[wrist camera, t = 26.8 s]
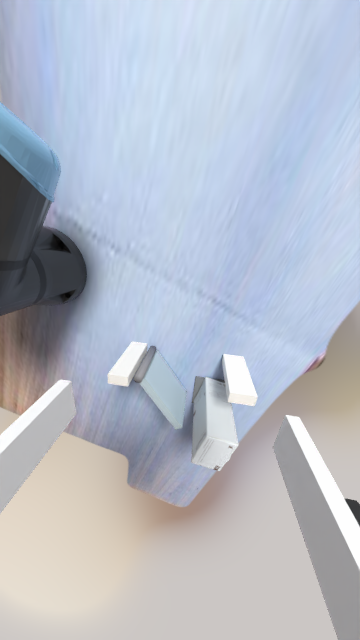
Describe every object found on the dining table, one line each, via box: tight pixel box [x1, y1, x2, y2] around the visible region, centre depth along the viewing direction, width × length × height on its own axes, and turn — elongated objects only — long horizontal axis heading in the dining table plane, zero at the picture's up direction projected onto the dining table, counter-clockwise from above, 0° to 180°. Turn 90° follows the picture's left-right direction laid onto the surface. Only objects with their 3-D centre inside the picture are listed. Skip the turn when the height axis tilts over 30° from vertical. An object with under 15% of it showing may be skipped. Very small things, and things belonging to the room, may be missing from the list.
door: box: [134, 346, 187, 430], centre depth 41 cm, size 15×3×11 cm, turn 31°
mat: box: [192, 376, 225, 403], centre depth 46 cm, size 8×8×1 cm
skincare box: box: [191, 377, 239, 471], centre depth 39 cm, size 8×6×15 cm
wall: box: [108, 342, 257, 406], centre depth 38 cm, size 25×2×12 cm, turn 85°
